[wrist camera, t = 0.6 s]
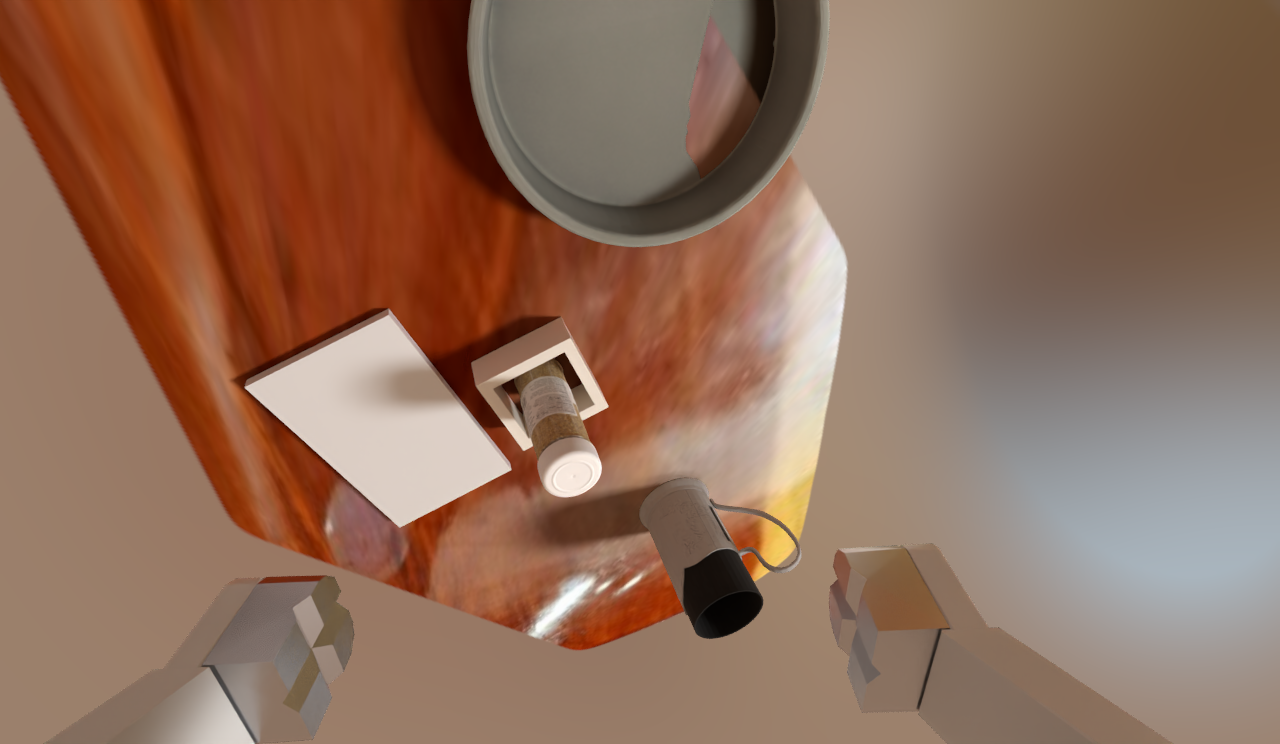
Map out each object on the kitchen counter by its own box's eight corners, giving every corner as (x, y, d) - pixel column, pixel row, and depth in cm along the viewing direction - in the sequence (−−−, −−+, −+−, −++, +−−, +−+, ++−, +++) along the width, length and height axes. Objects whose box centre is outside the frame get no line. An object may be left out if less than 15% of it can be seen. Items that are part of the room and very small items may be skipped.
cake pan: (617, 282, 53) (634, 307, 49) (374, 35, 37) (373, 47, 34) (846, 77, 49) (881, 88, 45) (680, -294, 33) (714, -320, 30)
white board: (246, 379, 46) (244, 387, 46) (388, 308, 47) (388, 314, 46) (399, 519, 59) (399, 527, 59) (509, 462, 60) (511, 469, 59)
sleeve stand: (470, 362, 52) (475, 386, 49) (561, 316, 52) (570, 337, 50) (517, 426, 58) (523, 450, 55) (598, 384, 58) (608, 406, 55)
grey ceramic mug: (628, 502, 69) (677, 617, 57) (739, 443, 69) (809, 546, 58) (653, 541, 75) (701, 653, 63) (755, 487, 75) (822, 588, 64)
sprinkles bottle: (556, 395, 57) (594, 499, 47) (508, 393, 55) (536, 500, 45) (568, 354, 55) (610, 454, 45) (518, 350, 53) (550, 453, 43)
